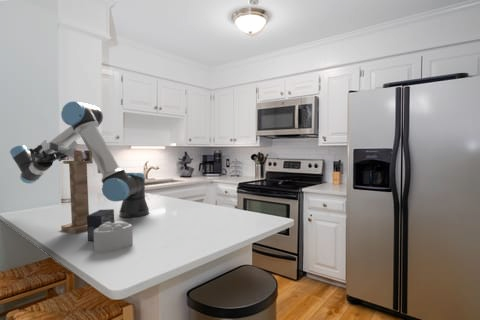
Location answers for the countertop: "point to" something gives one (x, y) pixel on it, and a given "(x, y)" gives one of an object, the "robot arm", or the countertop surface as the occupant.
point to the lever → (65, 150)
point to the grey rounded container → (112, 236)
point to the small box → (98, 221)
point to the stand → (78, 192)
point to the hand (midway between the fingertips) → (61, 142)
